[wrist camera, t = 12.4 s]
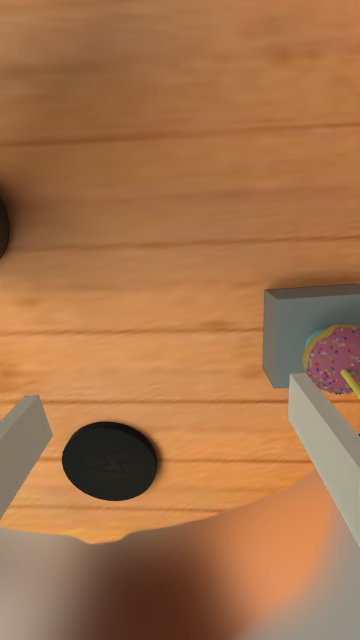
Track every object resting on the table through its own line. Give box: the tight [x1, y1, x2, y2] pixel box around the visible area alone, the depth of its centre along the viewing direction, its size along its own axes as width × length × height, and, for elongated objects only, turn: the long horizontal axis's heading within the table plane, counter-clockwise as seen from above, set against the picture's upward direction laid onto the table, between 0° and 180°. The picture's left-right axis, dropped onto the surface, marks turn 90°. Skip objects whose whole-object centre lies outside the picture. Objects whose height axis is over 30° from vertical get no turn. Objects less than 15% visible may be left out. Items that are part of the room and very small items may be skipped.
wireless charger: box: [62, 422, 157, 501], centre depth 49 cm, size 18×18×2 cm
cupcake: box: [302, 324, 360, 399], centre depth 28 cm, size 9×8×12 cm
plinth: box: [263, 284, 360, 388], centre depth 36 cm, size 13×13×6 cm
